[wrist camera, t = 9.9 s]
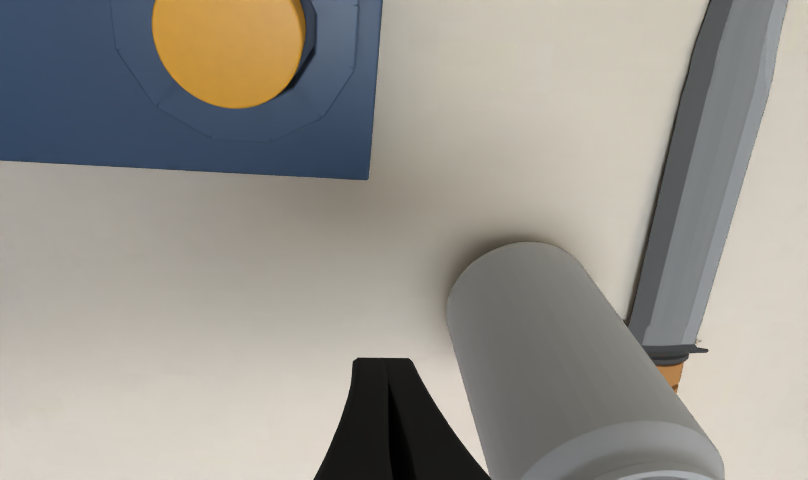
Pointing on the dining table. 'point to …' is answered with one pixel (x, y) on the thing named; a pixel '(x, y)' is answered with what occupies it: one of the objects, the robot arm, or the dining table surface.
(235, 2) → the trigger button
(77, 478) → the dining table surface
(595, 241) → the dining table surface
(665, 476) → the beverage can
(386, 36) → the dining table surface
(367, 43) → the button housing
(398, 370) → the robot arm
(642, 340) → the knife
